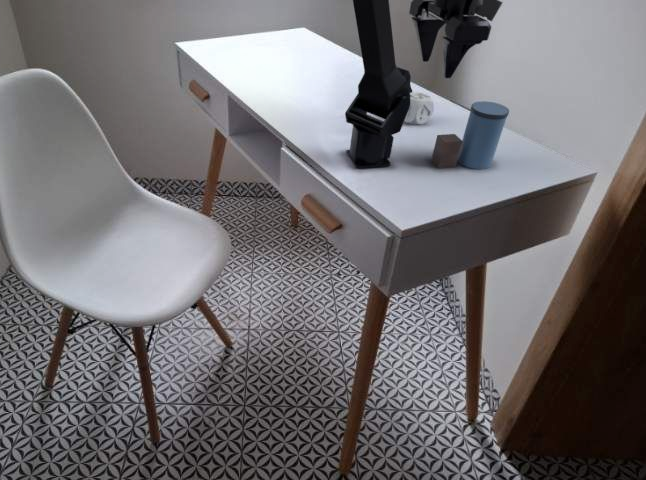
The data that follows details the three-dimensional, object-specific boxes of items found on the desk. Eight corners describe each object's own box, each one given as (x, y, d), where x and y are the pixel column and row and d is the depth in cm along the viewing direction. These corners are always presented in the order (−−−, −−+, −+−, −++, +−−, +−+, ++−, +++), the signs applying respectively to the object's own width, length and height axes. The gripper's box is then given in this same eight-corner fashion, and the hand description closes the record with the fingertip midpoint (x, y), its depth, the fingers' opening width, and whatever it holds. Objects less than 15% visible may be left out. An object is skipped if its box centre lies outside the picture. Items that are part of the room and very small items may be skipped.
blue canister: (448, 145, 87) (505, 96, 84) (432, 130, 92) (486, 83, 88) (477, 184, 94) (532, 140, 90) (461, 168, 98) (513, 125, 95)
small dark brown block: (438, 168, 92) (445, 142, 88) (431, 160, 94) (437, 134, 91) (455, 167, 92) (462, 141, 89) (447, 159, 94) (454, 133, 91)
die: (431, 122, 108) (436, 98, 104) (413, 126, 105) (418, 102, 102) (414, 113, 111) (419, 90, 108) (397, 118, 109) (401, 94, 105)
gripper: (535, -19, 78) (503, 85, 88) (475, -39, 92) (453, 52, 102) (468, -18, 76) (443, 88, 86) (417, -40, 90) (400, 54, 100)
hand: (436, 69), depth 93 cm, fingers open, 9 cm apart
